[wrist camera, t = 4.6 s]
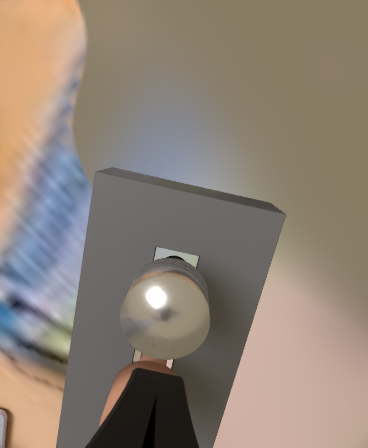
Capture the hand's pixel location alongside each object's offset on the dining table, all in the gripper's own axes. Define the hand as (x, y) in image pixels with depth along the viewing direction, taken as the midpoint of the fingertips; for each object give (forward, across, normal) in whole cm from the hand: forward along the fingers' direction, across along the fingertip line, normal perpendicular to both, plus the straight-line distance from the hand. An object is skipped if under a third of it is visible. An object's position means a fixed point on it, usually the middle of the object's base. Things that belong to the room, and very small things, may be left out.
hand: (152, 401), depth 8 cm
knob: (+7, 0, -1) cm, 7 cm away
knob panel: (+10, 0, +4) cm, 11 cm away
